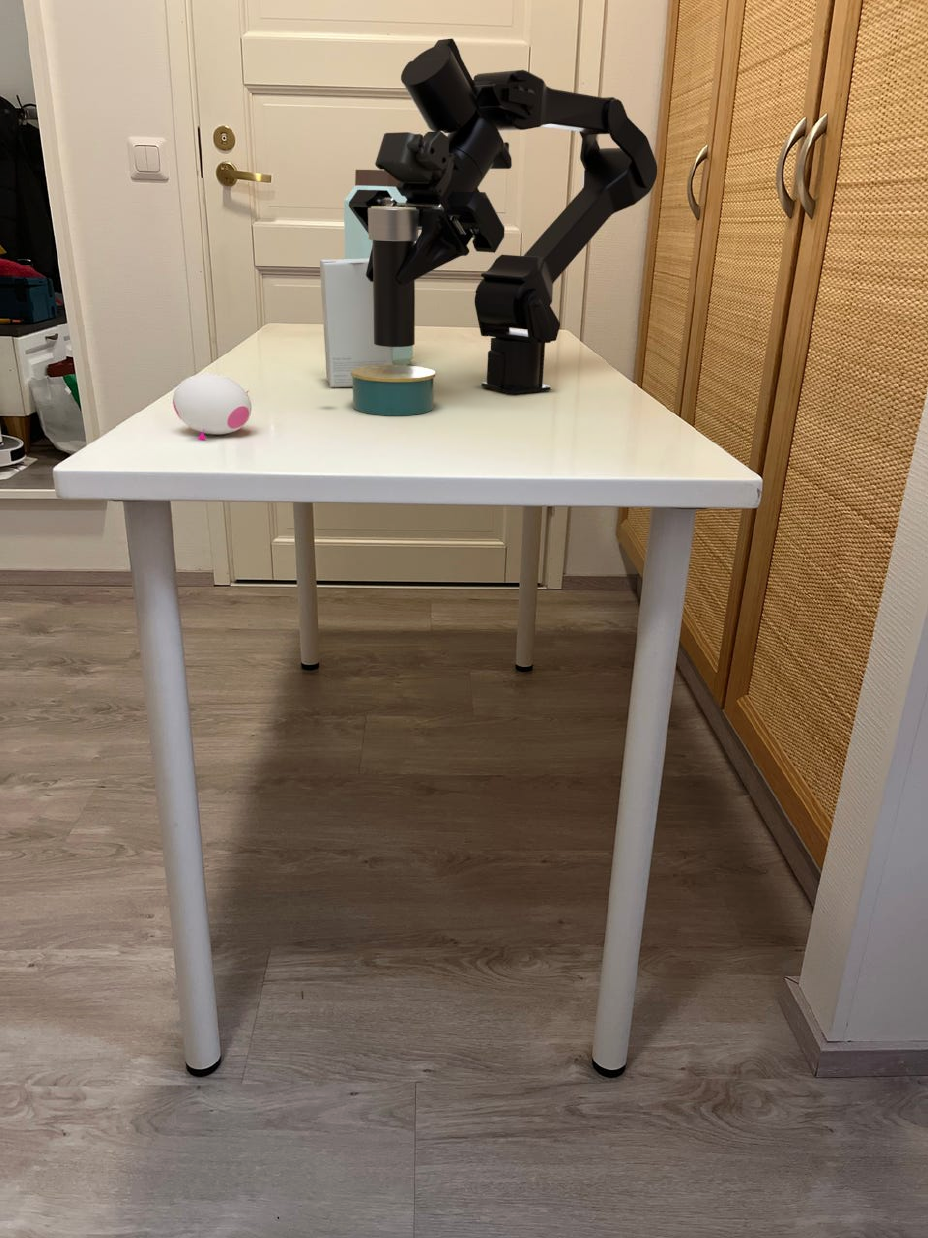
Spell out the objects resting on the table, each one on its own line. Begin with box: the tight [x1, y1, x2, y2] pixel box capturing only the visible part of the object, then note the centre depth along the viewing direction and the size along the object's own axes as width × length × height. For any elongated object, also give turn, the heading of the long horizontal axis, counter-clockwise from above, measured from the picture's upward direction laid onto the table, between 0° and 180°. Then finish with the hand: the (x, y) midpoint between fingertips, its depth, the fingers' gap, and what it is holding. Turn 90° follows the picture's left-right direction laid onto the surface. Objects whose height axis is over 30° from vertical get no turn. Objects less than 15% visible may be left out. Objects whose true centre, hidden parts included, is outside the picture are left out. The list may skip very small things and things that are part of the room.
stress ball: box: [172, 373, 253, 441], centre depth 92 cm, size 8×8×7 cm
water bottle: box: [343, 169, 414, 366], centre depth 131 cm, size 10×10×25 cm
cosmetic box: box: [319, 258, 393, 388], centre depth 117 cm, size 8×6×15 cm
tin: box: [351, 365, 436, 417], centre depth 106 cm, size 9×9×4 cm
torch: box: [368, 206, 420, 347], centre depth 100 cm, size 5×5×14 cm
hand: (384, 280), depth 99 cm, fingers closed on torch, 4 cm apart
